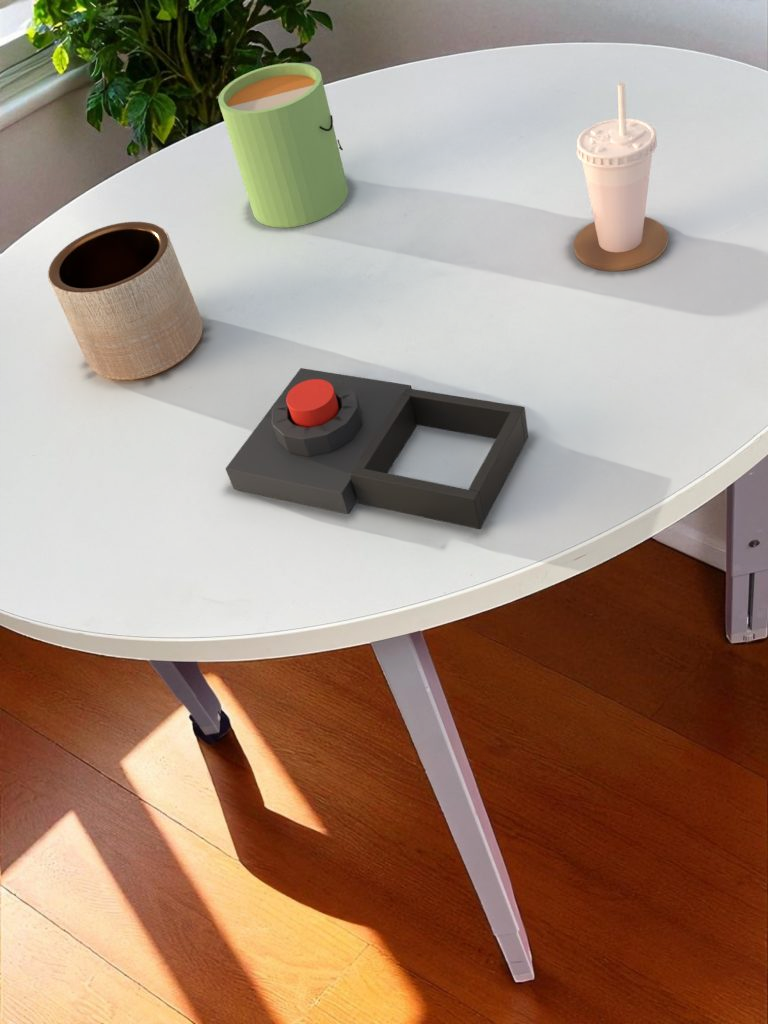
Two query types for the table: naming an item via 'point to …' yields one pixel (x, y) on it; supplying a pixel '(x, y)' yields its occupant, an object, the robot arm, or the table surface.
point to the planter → (126, 300)
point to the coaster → (618, 261)
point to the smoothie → (618, 176)
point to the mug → (285, 144)
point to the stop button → (312, 403)
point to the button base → (314, 444)
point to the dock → (434, 497)
